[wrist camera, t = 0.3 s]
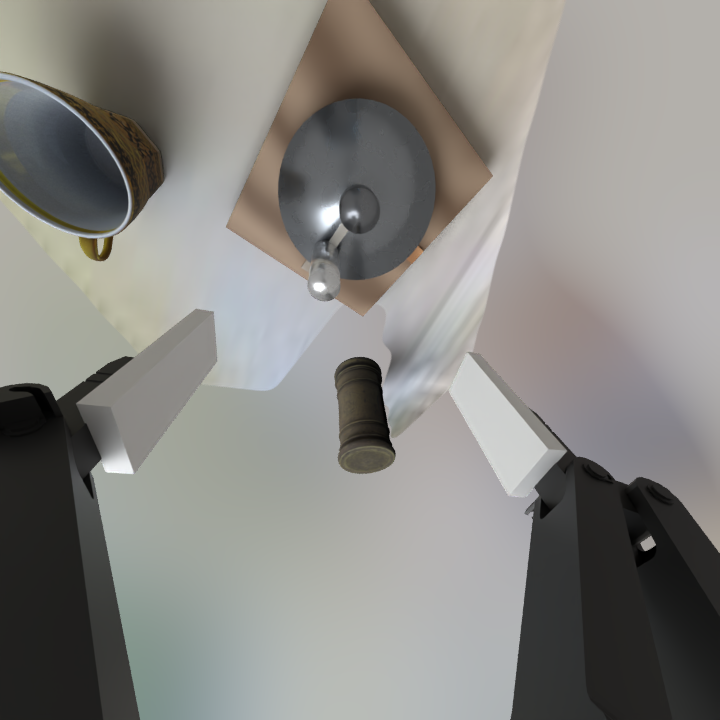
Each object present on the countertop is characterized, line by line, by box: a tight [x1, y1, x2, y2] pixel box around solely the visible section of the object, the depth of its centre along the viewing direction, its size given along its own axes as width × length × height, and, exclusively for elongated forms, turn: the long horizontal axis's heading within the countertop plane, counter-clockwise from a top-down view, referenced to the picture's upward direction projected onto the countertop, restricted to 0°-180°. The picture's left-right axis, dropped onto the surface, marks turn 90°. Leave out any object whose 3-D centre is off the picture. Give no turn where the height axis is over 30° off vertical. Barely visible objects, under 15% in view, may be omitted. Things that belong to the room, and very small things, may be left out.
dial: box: [278, 98, 436, 301], centre depth 25 cm, size 16×16×10 cm
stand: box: [226, 0, 493, 316], centre depth 30 cm, size 22×20×3 cm
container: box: [334, 357, 395, 474], centre depth 45 cm, size 9×9×18 cm
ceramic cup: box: [0, 72, 164, 261], centre depth 24 cm, size 13×10×10 cm
